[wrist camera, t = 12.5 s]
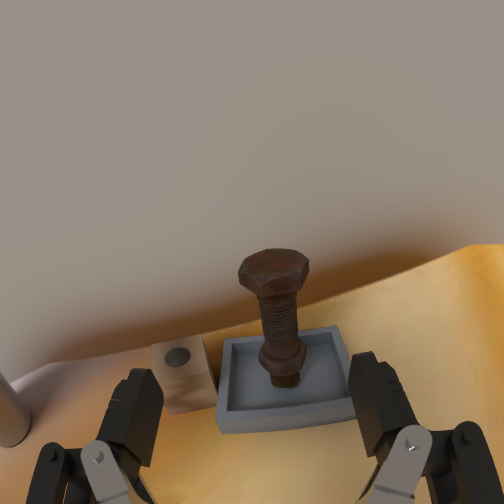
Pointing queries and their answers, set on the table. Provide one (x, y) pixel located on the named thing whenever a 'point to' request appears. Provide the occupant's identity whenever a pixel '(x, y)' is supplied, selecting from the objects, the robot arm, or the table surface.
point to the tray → (284, 399)
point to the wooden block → (184, 374)
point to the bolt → (278, 310)
